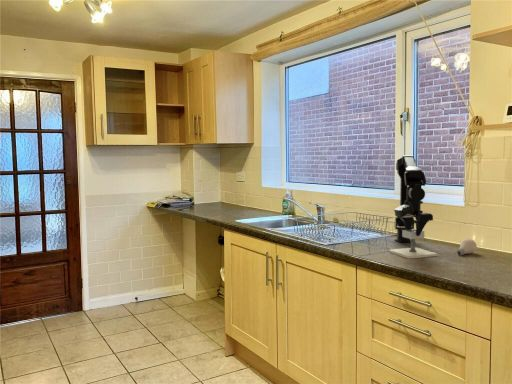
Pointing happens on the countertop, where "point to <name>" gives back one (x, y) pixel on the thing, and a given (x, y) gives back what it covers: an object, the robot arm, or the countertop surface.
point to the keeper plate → (413, 252)
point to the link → (412, 234)
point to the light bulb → (467, 247)
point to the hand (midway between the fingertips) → (413, 234)
